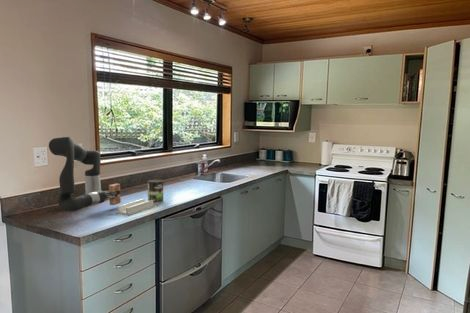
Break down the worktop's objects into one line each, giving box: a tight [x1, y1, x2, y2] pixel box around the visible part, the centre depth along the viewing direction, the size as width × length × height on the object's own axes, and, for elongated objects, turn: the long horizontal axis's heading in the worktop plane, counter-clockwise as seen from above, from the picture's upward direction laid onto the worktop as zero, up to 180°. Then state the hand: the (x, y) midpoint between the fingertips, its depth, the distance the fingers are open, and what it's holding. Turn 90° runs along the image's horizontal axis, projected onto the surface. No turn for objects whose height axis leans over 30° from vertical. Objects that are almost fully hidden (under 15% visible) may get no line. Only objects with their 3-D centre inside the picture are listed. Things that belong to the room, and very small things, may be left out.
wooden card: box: [108, 183, 122, 206], centre depth 209 cm, size 6×3×12 cm, turn 153°
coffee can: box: [147, 178, 164, 205], centre depth 226 cm, size 10×10×14 cm
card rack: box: [115, 198, 156, 216], centre depth 208 cm, size 22×10×4 cm, turn 153°
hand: (117, 191), depth 211 cm, fingers closed on wooden card, 3 cm apart
